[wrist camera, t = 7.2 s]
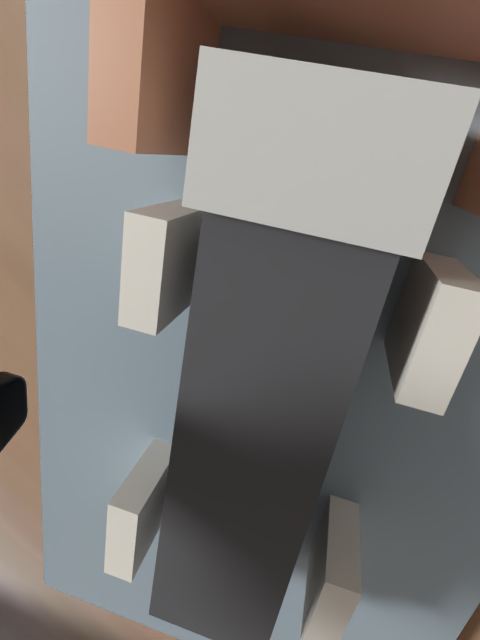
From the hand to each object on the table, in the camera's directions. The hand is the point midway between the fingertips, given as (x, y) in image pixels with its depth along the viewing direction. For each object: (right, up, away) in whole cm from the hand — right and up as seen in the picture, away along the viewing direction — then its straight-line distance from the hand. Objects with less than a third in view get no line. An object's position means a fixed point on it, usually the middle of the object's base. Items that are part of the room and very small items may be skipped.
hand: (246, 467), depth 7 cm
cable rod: (+1, +1, +3) cm, 4 cm away
